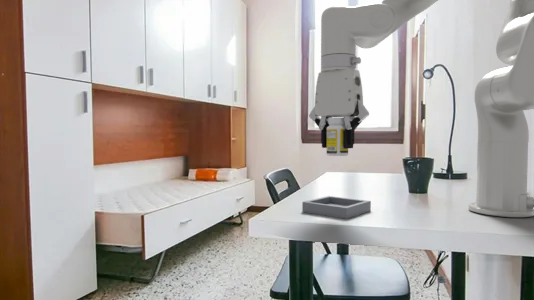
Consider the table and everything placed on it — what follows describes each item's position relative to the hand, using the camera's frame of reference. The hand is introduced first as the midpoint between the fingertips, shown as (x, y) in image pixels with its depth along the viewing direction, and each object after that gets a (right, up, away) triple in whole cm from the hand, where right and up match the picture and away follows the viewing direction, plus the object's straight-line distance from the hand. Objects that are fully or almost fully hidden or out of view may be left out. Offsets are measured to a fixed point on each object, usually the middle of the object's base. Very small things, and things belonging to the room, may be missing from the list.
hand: (337, 147), depth 85 cm
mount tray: (0, -14, +1) cm, 14 cm away
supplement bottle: (0, -2, 0) cm, 2 cm away
